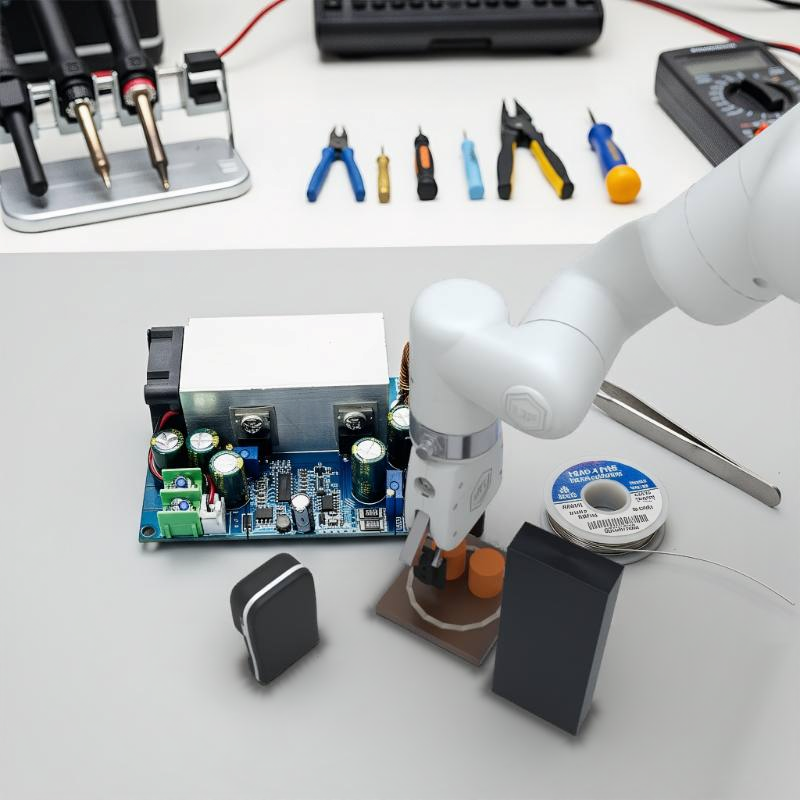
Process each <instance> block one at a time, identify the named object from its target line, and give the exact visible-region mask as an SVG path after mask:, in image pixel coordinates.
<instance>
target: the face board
mask: <svg viewBox="0 0 800 800" xmlns="http://www.w3.org/2000/svg"><path fill="white" fill-rule="evenodd" d="M465 540H466V559H465V570H464V572H463V574H462V575H461V576H460V577H458V578H456V579H453V580H446V586H445V587H444V588H443V590H440V589H438V588H436V587H434V586H432V585H426V584H424V583H422V582H421V581H419V580H418V578H416V577H415V576H414V574H413V566H410V565H408V564H406V565H405V567H404V569H402V571H401V572H400V574H399V575H398V576H397V578H396V579H395V580H394V581H393V583H392V584H391V585H390V587H388V589H387V590H386V592H385V593H384V594H383V596H382V597H381V598H380V600H379V601H378V602H377V604H376V605H375V613H376V614H377V615H379V616H381V617H384V618H385V619H387V620H388V621H391V622H392V623H395V624H397V625H398V626H401V627H402V628H405V629H406V630H408V631H410V632H412V633H414V634H416V635H417V636H420V637H421V638H423V639H425V640H426V641H429V642H431V643H433V644H435V645H437V646H438V647H440V648H442V649H444V650H446V651H448V652H450V653H452V654H453V655H456V656H458V657H459V658H461V659H463V660H465V661H467V662H469V663H471V664H472V665H474V666H476V667H478V668H479V667H481V665H482V663H483V662H484V661H485V659H486V657H487V656H488V654H489V652H490V651H491V649H492V648H493V647H494V645H495V644H496V643H497V637H498V628H499V618H500V609H501V600H502V591H503V584H502V589H501V591H500V593H499V594H498V595H496V596H495V597H492V598H480V597H477V596H476V595H474V594H473V593H472V592H471V591H470V589H469V586H468V578H469V564H470V557H471V555H472V554H473V553H474V552H475V551H477V550H479V549H482V548H490V549H494V550H496V551H498V552H499V553H500V554H501V555H502V556H503V558H504V562H505V563H506V554H507V551H506V550H503V549H501V548H499V547H496V546H495V545H492V544H490V543H488V542H486V541H484V540H482V539H480V538H478V537H475V536H473V535H471V534H469V533H468V534H467V535H466V537H465ZM432 541H433V540H431V539H429V538H426V540H425V543H424V546H427V547H429V548H431V549H432ZM504 573H505V565H504ZM503 582H504V574H503Z"/></svg>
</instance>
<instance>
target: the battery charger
mask: <svg viewBox="0 0 800 800" xmlns="http://www.w3.org/2000/svg"><path fill="white" fill-rule="evenodd" d="M317 604H318V603H317V593H316V586H315V579H314V576H313V573H312V572H311V570H310V568H309V567H308V566H306V565H305V564H304V563H301V562H300V561H299V560H298V559H296V558H295V557H294V556H293V555H292V554H290V553H289V552H288V553H287V552H281V553H277V554H276V555H274V556H272V557H270V558H269V559H268V560H266V561H264V562H263V563H262V564H261V565H259V566H258V567H256V568H255V569H254V570H252V571H251V572H250V573H248V574H246V576H244V577H243V578H242V579H240V580H239V581H238V582H237V583H235V585H233V587H232V589H231V592H230V596H229V605H230V611H231V612H230V613H231V617H232V621H233V624H234V627H235V629H236V630H237V632H239V633H240V634H241V635H242V636H243V638H244V643H245V647H246V650H247V653H248V658H247V666H248V668H249V670H250V672H251V673H252V675H253V676H254V677H255V679H256V680H257V681H258V682H260V683H262V684H263V685H267V684H268V683H270V682H271V681H272V680H274V679H275V678H276V677H277V676H279V675H280V674H281V673H283V672H284V671H285V670H286V669H288V668H289V667H290V666H292V664H294V663H295V662H296V661H297V660H299V659H300V658H301V657H303V656H304V655H305V654H306V653H307V652H309V651H310V650H312V648H313V647H315V646H316V645H317V644H318V643H319V642H320V635H319V634H320V633H319V625H318V607H317V606H318V605H317Z"/></svg>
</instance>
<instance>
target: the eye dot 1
mask: <svg viewBox="0 0 800 800" xmlns="http://www.w3.org/2000/svg"><path fill="white" fill-rule="evenodd" d="M435 547H436V543H435V541H432V549H433V550H435ZM443 557H444V558H445V559H446V560H447V572H446V580H453V579H456V578H458V577H460V576H461V575H462V574H463V572H464V570H465V559H466V540H465V538H464V539H463V541H462V542H461V543H460V544H459V545H458V546H457V547H456V548H454V549H453V550H450V551H445V553H444V556H443Z"/></svg>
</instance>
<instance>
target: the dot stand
mask: <svg viewBox="0 0 800 800" xmlns="http://www.w3.org/2000/svg"><path fill="white" fill-rule="evenodd" d="M506 552H507V554H506V563H505V573H504V582H503V591H502V600H501V609H500V618H499V628H498V637H497V640H496V647H495V655H494V665H493V673H492V674H493V675H492V684H491V692H493V693H494V694H497V695H498V696H500V697H502V698H504V699H505V700H507V701H509V702H511V703H513V704H515V705H517V706H518V707H521V708H522V709H524V710H526V711H528V712H530V713H532V714H534V715H535V716H537V717H539V718H541V719H542V720H544V721H546V722H548V723H550V724H551V725H553V726H555V727H558V728H560V729H561V730H563V731H565V732H567V733H569V734H571V735H573V736H577V734H578V733H579V730H580V728H581V727H582V725H583V722H584V721H585V719H586V717H587V715H588V713H589V712H590V709H591V707H592V702H593V698H594V695H595V690H596V687H597V681H598V677H599V673H600V669H601V665H602V662H603V657H604V653H605V649H606V645H607V640H608V637H609V633H610V629H611V625H612V620H613V616H614V612H615V608H616V604H617V599H618V596H619V591H620V588H621V584H622V579H623V575H624V571H625V568H626V567H625V565H623V564H621V563H620V562H617V561H615V560H612V559H610V558H608V557H606V556H603V555H602V554H599V553H597V552H595V551H592V550H590V549H588V548H586V547H584V546H582V545H580V544H577V543H575V542H572V541H570V540H568V539H567V538H564V537H562V536H559V535H557V534H555V533H553V532H550V531H548V530H546V529H544V528H542V527H539V526H537V525H535V524H533V523H531V522H529V521H527V520H525V521H524V522H523V524H522V525H521V526H520V528H519V529H518V531H517V532H516V534H515V535H514V537H513V538H512V540H511V541H510V542H509V544H508V546H507V547H506Z"/></svg>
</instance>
